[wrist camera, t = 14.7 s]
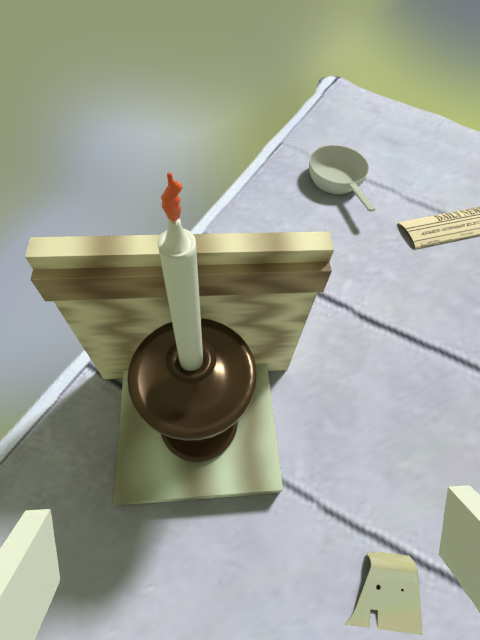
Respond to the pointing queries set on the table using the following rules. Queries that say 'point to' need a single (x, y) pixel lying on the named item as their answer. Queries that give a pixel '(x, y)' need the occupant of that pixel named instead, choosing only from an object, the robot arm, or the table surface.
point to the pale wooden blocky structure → (153, 312)
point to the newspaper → (444, 227)
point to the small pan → (339, 171)
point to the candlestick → (190, 358)
